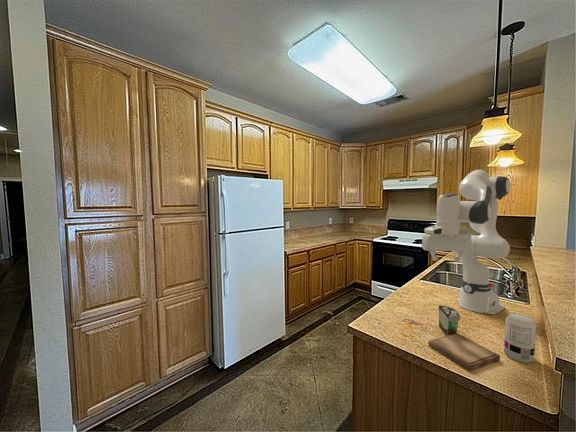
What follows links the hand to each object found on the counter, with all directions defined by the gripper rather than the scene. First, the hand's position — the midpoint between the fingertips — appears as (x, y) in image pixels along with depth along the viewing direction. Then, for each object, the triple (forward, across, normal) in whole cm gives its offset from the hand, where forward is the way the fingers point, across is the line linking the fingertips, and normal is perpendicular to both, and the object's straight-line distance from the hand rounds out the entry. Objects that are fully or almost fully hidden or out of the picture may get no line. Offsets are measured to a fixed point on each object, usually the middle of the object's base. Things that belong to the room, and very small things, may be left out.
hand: (445, 260), depth 111 cm
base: (+32, +3, +18) cm, 36 cm away
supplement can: (+31, -16, +20) cm, 41 cm away
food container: (+31, -1, +4) cm, 32 cm away
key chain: (+32, +10, -3) cm, 34 cm away
